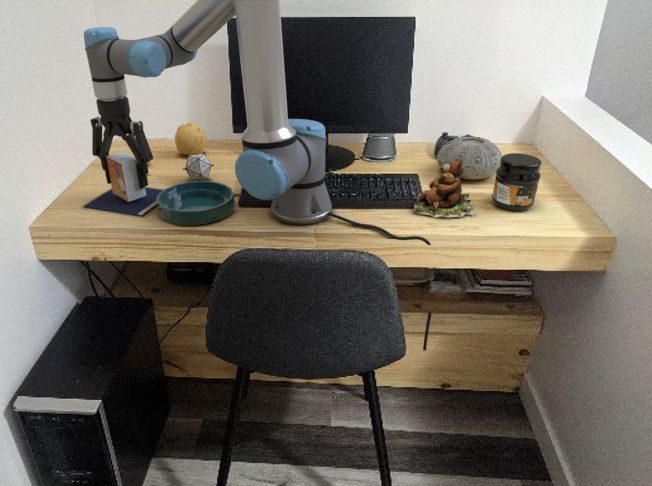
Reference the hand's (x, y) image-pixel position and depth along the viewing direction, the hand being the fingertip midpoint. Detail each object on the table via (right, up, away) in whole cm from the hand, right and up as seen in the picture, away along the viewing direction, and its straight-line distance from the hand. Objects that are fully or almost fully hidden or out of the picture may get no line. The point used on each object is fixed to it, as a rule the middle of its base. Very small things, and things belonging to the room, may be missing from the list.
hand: (127, 184), depth 145 cm
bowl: (+19, -7, -4) cm, 20 cm away
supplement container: (+100, -6, -2) cm, 100 cm away
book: (0, -4, +2) cm, 4 cm away
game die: (+16, +3, +14) cm, 22 cm away
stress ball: (+11, +15, +33) cm, 37 cm away
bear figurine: (+82, -7, -4) cm, 82 cm away
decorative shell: (+94, +5, +16) cm, 95 cm away
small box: (0, -3, +2) cm, 3 cm away
